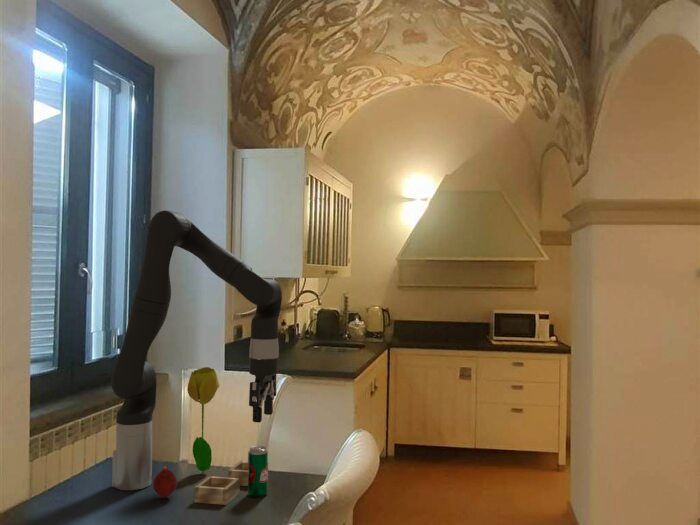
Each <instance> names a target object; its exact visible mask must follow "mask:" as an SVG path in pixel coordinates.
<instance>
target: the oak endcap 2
mask: <svg viewBox="0 0 700 525" xmlns="http://www.w3.org/2000/svg"><path fill="white" fill-rule="evenodd" d="M227 477H228V478H240V486H247V487H248V461H243V460H239V461H238V462H236V463H235V464H234V465H233V466H232V467H231V468H229V469H228V471H227Z"/></svg>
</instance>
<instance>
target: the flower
mask: <svg viewBox="0 0 700 525" xmlns="http://www.w3.org/2000/svg"><path fill="white" fill-rule="evenodd" d="M219 387H220V383H219V379H218V374H217V371H216V370H215V369H214V368H213V367H212V368H211V367H208V366H205V367H202V368H197V369H196V370H195V369H194V370H193V371H191V373H190V376H189V380H188V383H187V395H188V396H189V397H190V398H191V399H192V400H194V401H195V402H197V403H199V404H201V436H200V437H198V436H196V438H195V440H193V441H194V442H193V445H192V454H193V455H192V456H193V458H194V461H195V465H196V469H197V470H198V471H201V474H204V473H205V472H206V471H208V470H209V469H211V464H212V448H211V446H210V444H209V443H208V442H207V441H206V439H205V438H204V417H205V416H204V415H205V414H204V413H205V412H204V410H205V405H206V404H208V403H210V402H211V401H212V399H213V398H214V397H215V395H216V393H217V390H218V389H219Z"/></svg>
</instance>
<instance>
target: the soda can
mask: <svg viewBox="0 0 700 525" xmlns="http://www.w3.org/2000/svg"><path fill="white" fill-rule="evenodd" d="M247 453H248V454H247V456H248V457H247V462H248V486H247V494H248V495H249V497H252V498H263V497H265V496H266V495H267V494H268V488H269V486H268V485H269V483H268V481H269V480H268V479H269V478H268V477H269V463H268V461H269V452H268V450H267V446H263V445H256V446H251V447H249V450H248V452H247Z"/></svg>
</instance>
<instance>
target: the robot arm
mask: <svg viewBox="0 0 700 525" xmlns="http://www.w3.org/2000/svg"><path fill="white" fill-rule="evenodd" d="M145 243H146V244H145V251H144V257H143V262H142V265H141V269H140V275H139V280H138V284H137V287H136V289H135V294H134V298H133V301H132V305H131V310H130V316H129V320H128V323H127V328H126V331H125V333H124V334H125V335H124V340H123V343H122V347H121V348H120V351H119V355H118V357H117V360H116V362H115V364H114V368H113V370H112V374H111V381H110V383H111V384H110V385H111V389H112V391H113V393H114V395H115V396H117V397H118V398H120V399H122V400H123V403H122V405H121V406H120V408H119V409H118V411H116V412H117V413H116V415H115V416H116V418H115V419H116V425H115V429H116V431H115V433H116V434H115V441H116V442H115V449H114V450H113V451H112V471H111V472H112V477H111V478H112V480H111V482H112V488H116V489H118V490H121V491H136V490H141V489H144V488H147V487H149V486H151V485H152V478H153V474H152V473H153V472H152V471H153V413H154V411H155V409H156V403H157V402H156V400H157V374H156V370H155V368H154V366H153V365H152V364H151V363H150V362H148V361H146V360H147V357H148V353H149V350H150V347H151V345H152V344H153V342H154V340H155V339H156V338H157V336H158V334H159V333H160V331H161V329H162V327H163V326H164V324H165V321H166V319H167V315H168V311H169V307H170V304H171V299H172V286H171V278H170V265H171V258H172V255H173V252H174V248H175V247H177V248H181V249H182V250H184V251H187V252H189V253H191V254H192V255H194V256H195V257H197V258H198V259H199V260H201V262H202V263H203V264H204V265H206V267H207V268H208V269H209V270H210V271H211V272H212V273H214V275H216V276H217V277H218V278H220V279H221V280H222V281H224V282H225V283H227V284H228V285H230V286H232V287H233V288H235V290H237V291H238V293H239V294H241V295H242V296H243V297H244V298H245V300H247V301H248V302H250V303H251V304H253V305H255V306H256V309H255V315H254V316H253V317H252V318H251V323H250V343H249V357H248V358H249V359H248V360H249V363H248V364H249V368H248V369H249V370H248V373H249V374H250V375H252V376H254V377H255V379H254V381H250V383H249V394H248V395H249V396H248V406H249V407H251V408H252V422H253V423H261V422H262V421H263V414H264V415H266V416H271V415H273V413H274V408H273V406H274V399H275V397H276V396H277V374H278V373H279V358H280V357H279V352H280V351H279V350H280V346H279V338H278V337H279V317H280V312H281V308H282V307H281V306H282V300H283V292H282V287H281V285H280V283H279V282H278V281H276V280H275V279H272V278H263V277H262V276H260V275H259V274H257V273H256V272H255V271H253V268H252V267H251V266H250V265H249V264H248V263H247V262H245V261H243V259H241V258H240V257H238V256H236V254H235V255H234V254H233V253H231V252H230V251H229V250H227V249H226V248H224V247H222V246H221V245H220V244H218V243H217V242H215V241H214V240H213V239H211V238H210V237H209V236H208V235H206V234H205V233H204V232H203V231H202V230H201V229H200V228H199V227H198V226H197V225H196V224H195V223H194V222H192V220H190V219H189V218H188V217H187V216H186V215H185V214H183V213H180V212H175V211H172V210H161V211H158V212H156V213H155V214H154V215H153V216H152V218H151V219H150V222H149V225H148V228H147V236H146V242H145Z"/></svg>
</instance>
